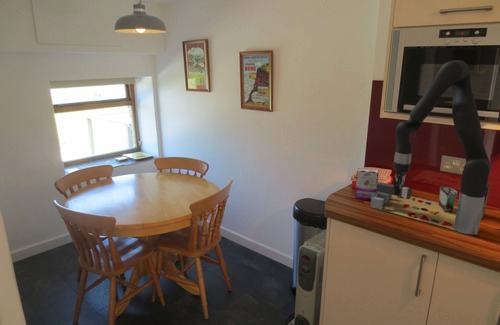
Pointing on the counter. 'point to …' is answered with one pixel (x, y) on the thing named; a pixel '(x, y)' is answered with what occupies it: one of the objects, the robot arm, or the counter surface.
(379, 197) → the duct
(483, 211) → the coffee box
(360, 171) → the candy bar box
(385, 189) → the dark grey bar
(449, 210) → the food container
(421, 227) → the counter surface
